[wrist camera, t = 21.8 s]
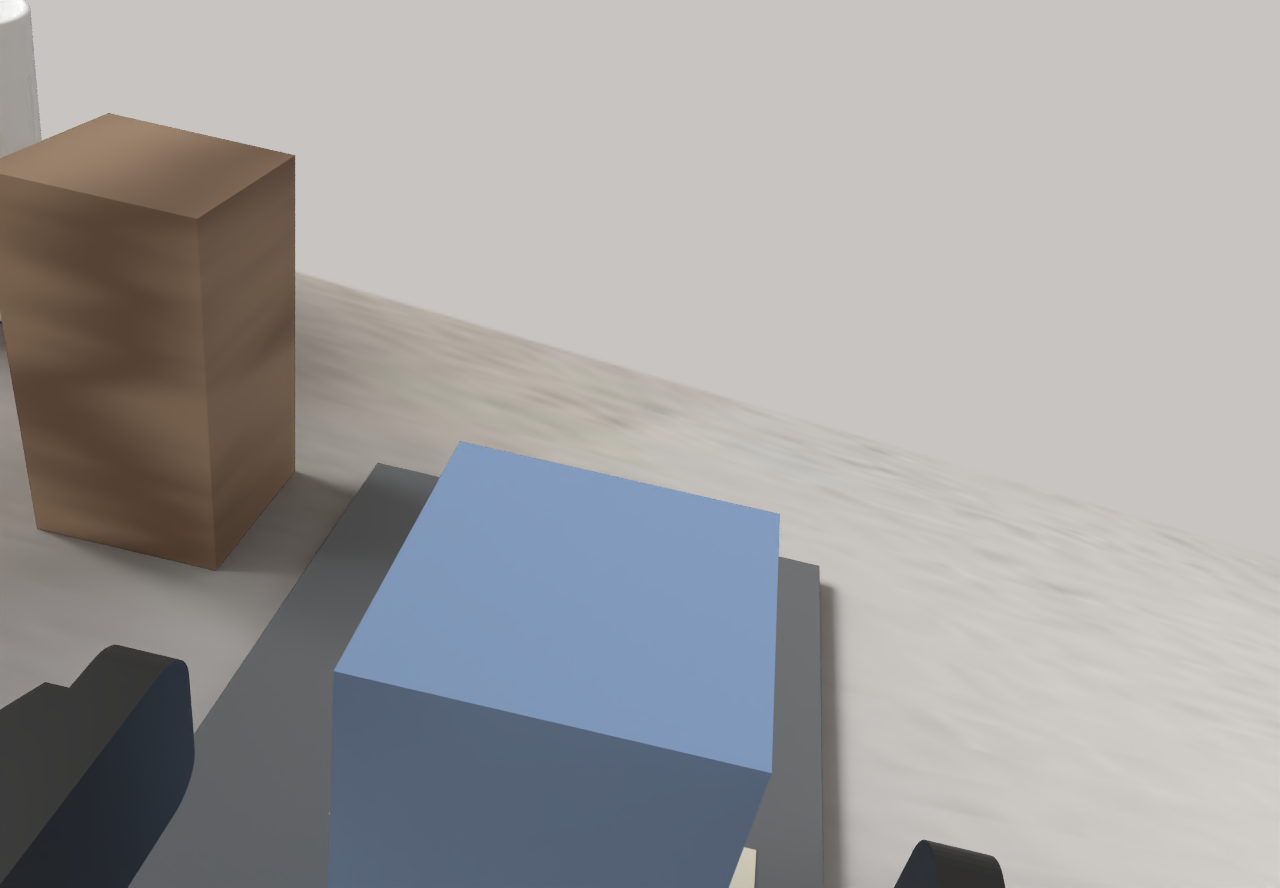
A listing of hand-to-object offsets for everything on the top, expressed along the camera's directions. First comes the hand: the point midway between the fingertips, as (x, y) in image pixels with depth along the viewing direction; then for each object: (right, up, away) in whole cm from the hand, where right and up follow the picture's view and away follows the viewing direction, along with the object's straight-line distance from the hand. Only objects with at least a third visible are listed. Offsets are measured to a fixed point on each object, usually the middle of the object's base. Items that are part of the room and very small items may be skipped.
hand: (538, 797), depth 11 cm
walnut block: (-12, +2, +19) cm, 22 cm away
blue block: (-1, -6, +8) cm, 10 cm away
